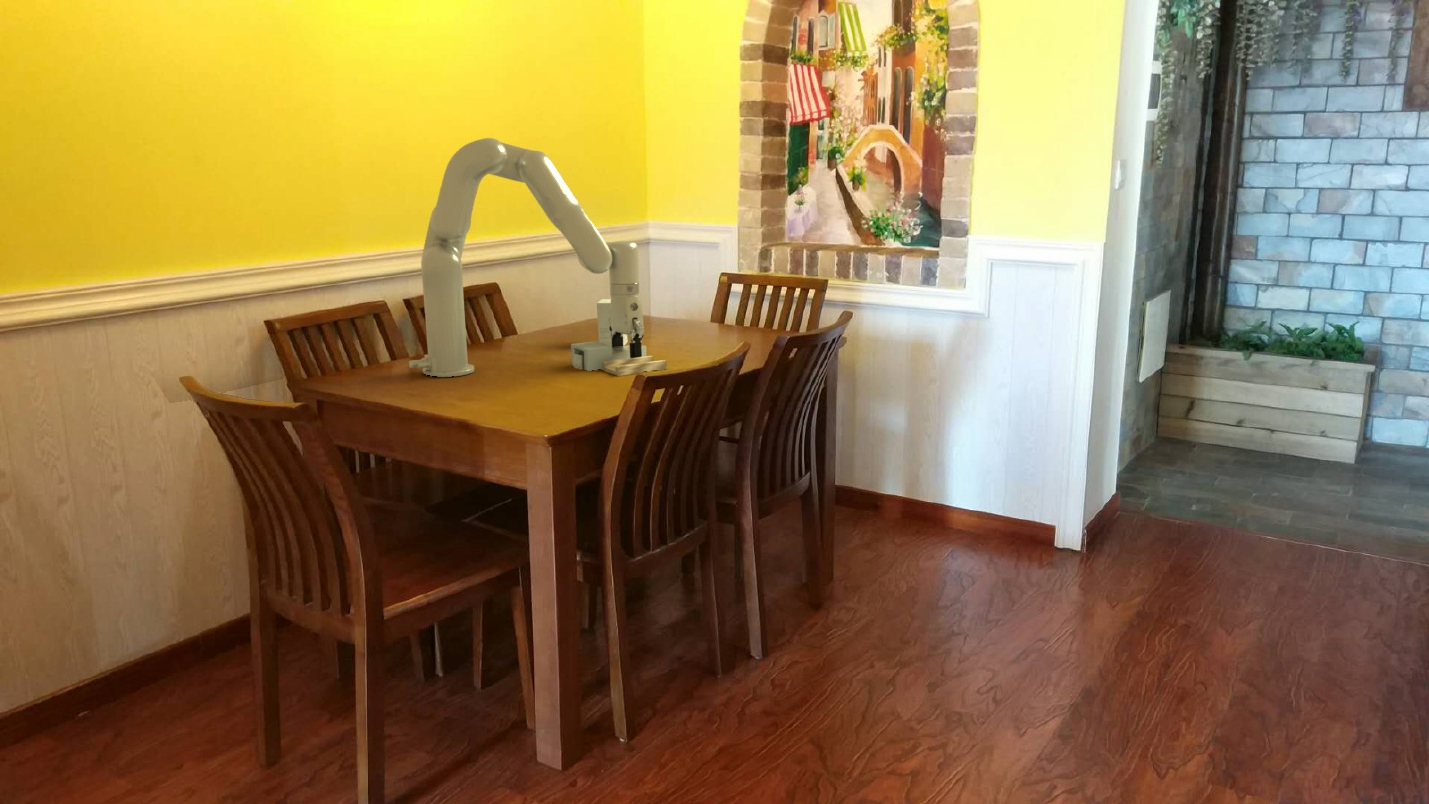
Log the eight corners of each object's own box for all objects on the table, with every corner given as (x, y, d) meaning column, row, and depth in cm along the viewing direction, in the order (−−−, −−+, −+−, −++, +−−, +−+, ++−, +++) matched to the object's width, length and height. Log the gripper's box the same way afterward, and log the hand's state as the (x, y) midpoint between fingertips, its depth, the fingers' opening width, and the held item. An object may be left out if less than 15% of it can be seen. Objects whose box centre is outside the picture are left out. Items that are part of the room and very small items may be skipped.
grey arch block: (588, 371, 262) (587, 349, 260) (571, 364, 269) (570, 344, 268) (612, 367, 265) (612, 346, 264) (595, 361, 273) (595, 341, 272)
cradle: (618, 376, 256) (617, 367, 255) (602, 370, 262) (602, 361, 262) (666, 369, 263) (666, 360, 263) (650, 363, 270) (650, 355, 269)
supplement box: (628, 342, 300) (627, 298, 297) (623, 347, 293) (622, 302, 290) (603, 341, 301) (601, 298, 298) (597, 346, 294) (596, 302, 291)
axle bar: (582, 371, 264) (581, 355, 263) (573, 368, 267) (573, 353, 266) (646, 360, 276) (646, 345, 275) (638, 358, 279) (637, 343, 278)
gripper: (654, 292, 263) (655, 358, 267) (621, 284, 277) (623, 348, 281) (628, 294, 259) (630, 361, 263) (596, 287, 273) (598, 351, 277)
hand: (626, 354), depth 272 cm, fingers open, 9 cm apart
